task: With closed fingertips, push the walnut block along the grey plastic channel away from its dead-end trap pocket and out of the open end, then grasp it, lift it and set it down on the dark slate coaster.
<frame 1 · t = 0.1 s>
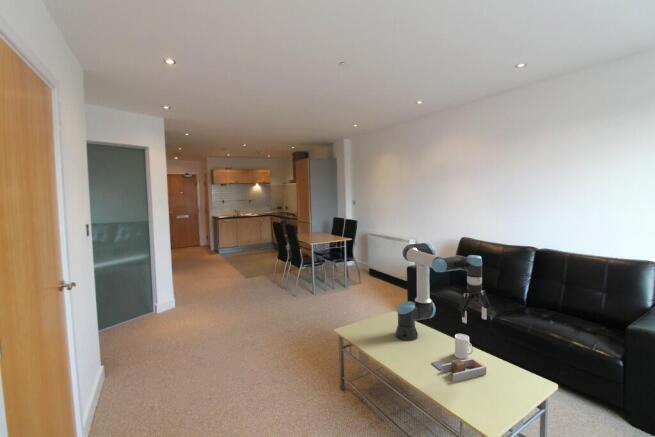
hand: (474, 320, 177), 28 cm above the table, fingers open, 13 cm apart
mug: (463, 357, 192), on the table
channel: (462, 373, 175), on the table
coaster: (441, 365, 183), on the table
block: (458, 374, 174), resting in channel
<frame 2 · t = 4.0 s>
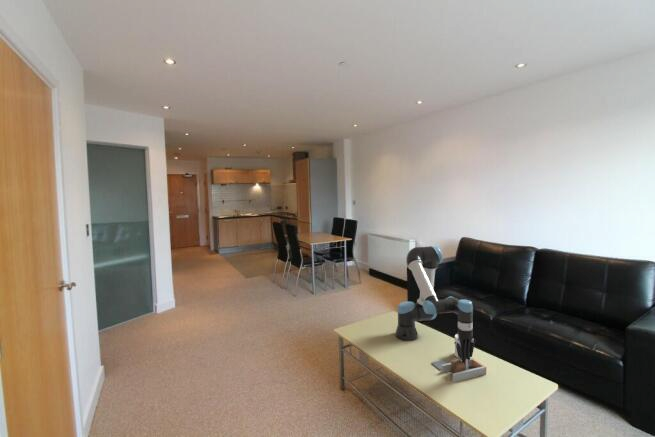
hand: (465, 369, 175), 2 cm above the table, fingers closed
block: (458, 374, 174), resting in channel, touching gripper
everything else where it was.
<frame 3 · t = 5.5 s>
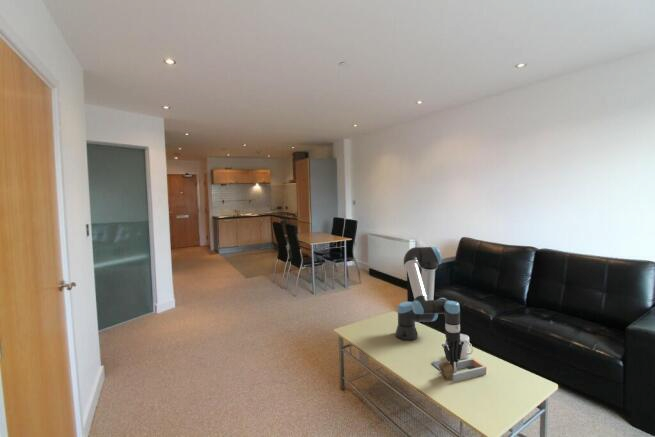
hand: (453, 372, 172), 2 cm above the table, fingers closed
block: (448, 375, 172), point 1 cm above the table, tilted 20°, touching gripper
everything else where it was.
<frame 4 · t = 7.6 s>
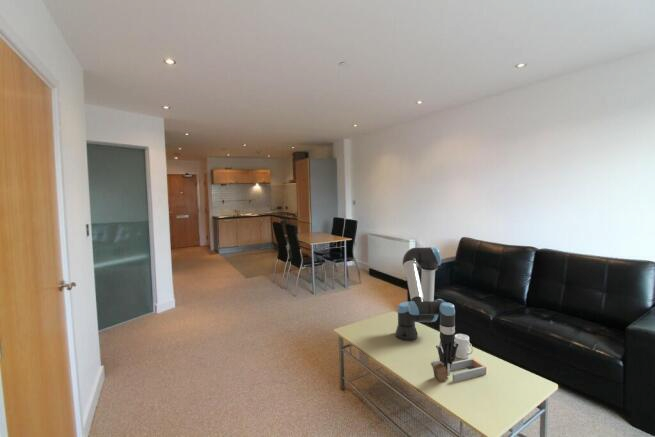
hand: (447, 374, 172), 1 cm above the table, fingers closed
block: (441, 377, 170), on the table, tilted 12°, touching gripper
everything else where it was.
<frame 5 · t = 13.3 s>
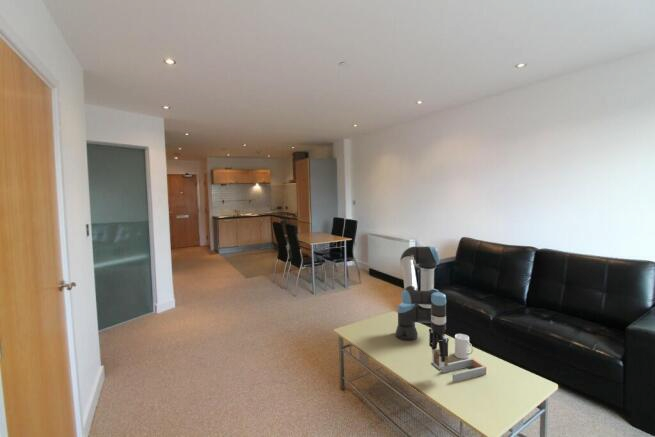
hand: (438, 363, 170), 8 cm above the table, fingers closed on block, 5 cm apart
block: (440, 363, 171), point 8 cm above the table, touching gripper
everything else where it was.
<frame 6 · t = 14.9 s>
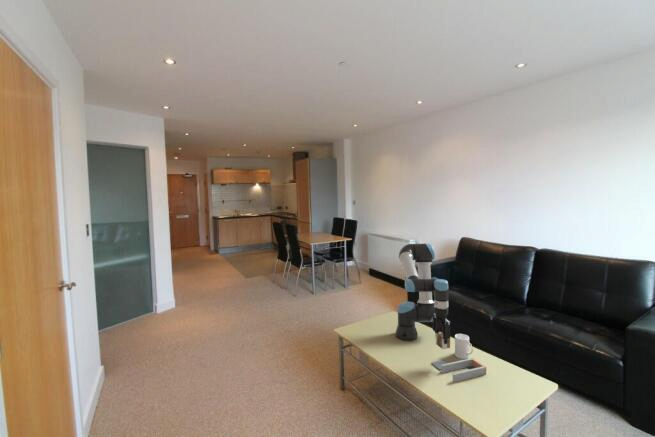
hand: (441, 346, 182), 12 cm above the table, fingers closed on block, 5 cm apart
block: (443, 346, 183), point 11 cm above the table, touching gripper
everything else where it was.
when the fingers open (1 cm above the table, at t = 17.0 s): block stays where it is, resting on coaster.
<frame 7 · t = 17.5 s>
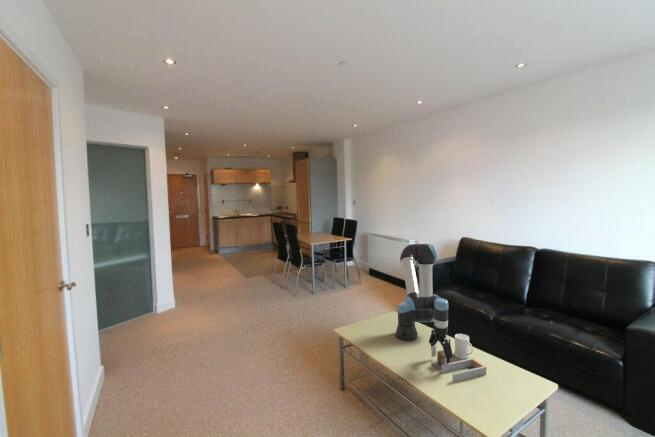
hand: (440, 361, 184), 2 cm above the table, fingers open, 11 cm apart
block: (443, 364, 183), point 1 cm above the table, touching coaster
everything else where it was.
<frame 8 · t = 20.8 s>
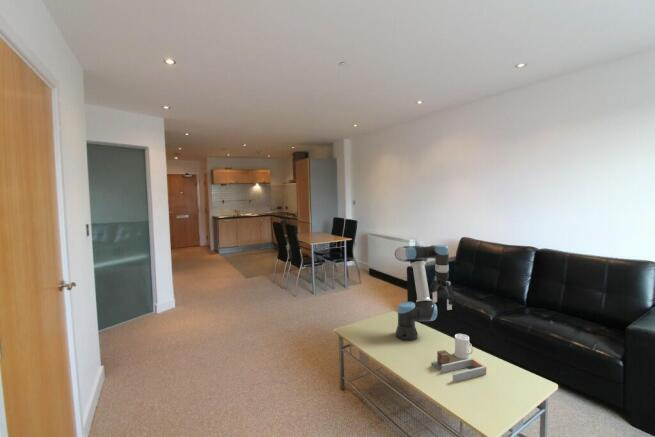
hand: (441, 305, 191), 32 cm above the table, fingers open, 13 cm apart
nothing on the table moved.
at the end: block 1.5 cm from the coaster (horizontally); block point 0.6 cm above the table; block tilted 0° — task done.
